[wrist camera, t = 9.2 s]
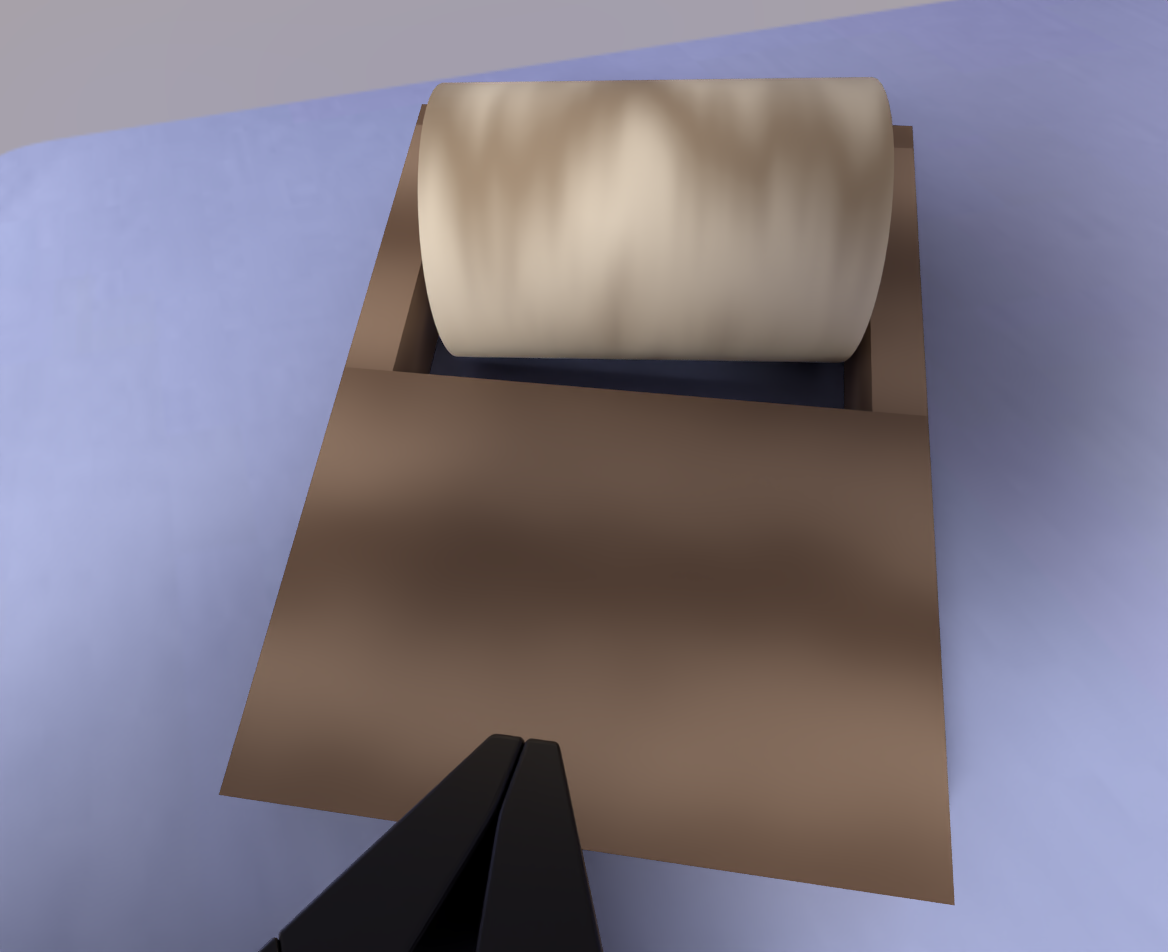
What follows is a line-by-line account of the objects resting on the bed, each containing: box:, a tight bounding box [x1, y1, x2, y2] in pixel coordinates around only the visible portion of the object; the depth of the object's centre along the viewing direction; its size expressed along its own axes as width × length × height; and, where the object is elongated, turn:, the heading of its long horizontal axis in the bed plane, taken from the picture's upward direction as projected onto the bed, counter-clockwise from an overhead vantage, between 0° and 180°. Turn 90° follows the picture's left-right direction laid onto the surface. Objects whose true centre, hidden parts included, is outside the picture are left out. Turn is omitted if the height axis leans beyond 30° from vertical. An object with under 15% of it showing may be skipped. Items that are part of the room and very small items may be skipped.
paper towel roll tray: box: [219, 104, 955, 905], centre depth 23 cm, size 23×17×3 cm
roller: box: [418, 77, 894, 363], centre depth 23 cm, size 8×12×8 cm, turn 87°
